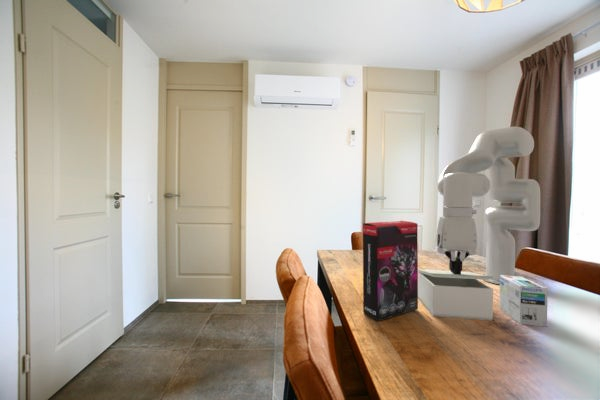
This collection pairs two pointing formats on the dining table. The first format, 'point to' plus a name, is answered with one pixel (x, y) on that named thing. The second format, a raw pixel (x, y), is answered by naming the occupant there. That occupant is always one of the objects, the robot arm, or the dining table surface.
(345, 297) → the dining table surface
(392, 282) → the graphics card box
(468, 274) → the lid
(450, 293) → the carton
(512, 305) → the light bulb box
